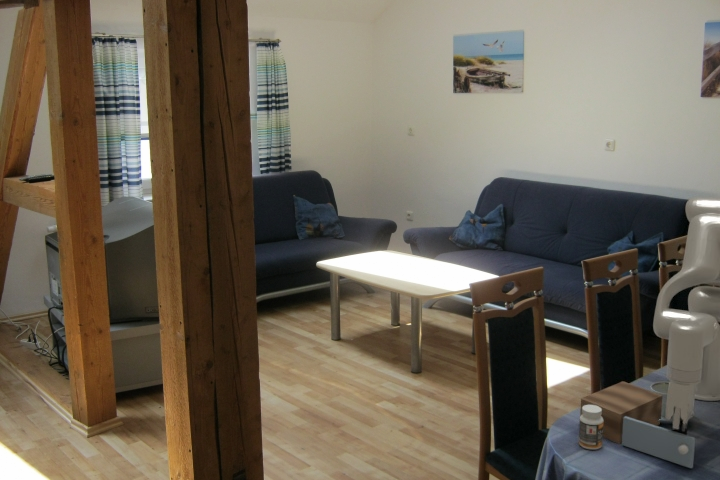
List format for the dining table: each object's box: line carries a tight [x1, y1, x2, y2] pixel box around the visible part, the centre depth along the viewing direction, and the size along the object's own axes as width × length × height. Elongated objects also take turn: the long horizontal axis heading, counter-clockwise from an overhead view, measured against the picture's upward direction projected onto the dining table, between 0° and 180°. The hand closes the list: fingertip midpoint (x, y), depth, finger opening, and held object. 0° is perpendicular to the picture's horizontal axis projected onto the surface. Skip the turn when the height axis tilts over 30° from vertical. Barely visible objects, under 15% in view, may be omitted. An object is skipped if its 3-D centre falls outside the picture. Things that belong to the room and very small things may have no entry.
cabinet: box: [579, 380, 663, 445], centre depth 195 cm, size 18×12×8 cm, turn 125°
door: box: [621, 416, 696, 469], centre depth 178 cm, size 17×2×7 cm, turn 45°
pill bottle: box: [578, 405, 604, 451], centre depth 185 cm, size 6×6×10 cm
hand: (678, 443), depth 178 cm, fingers closed
